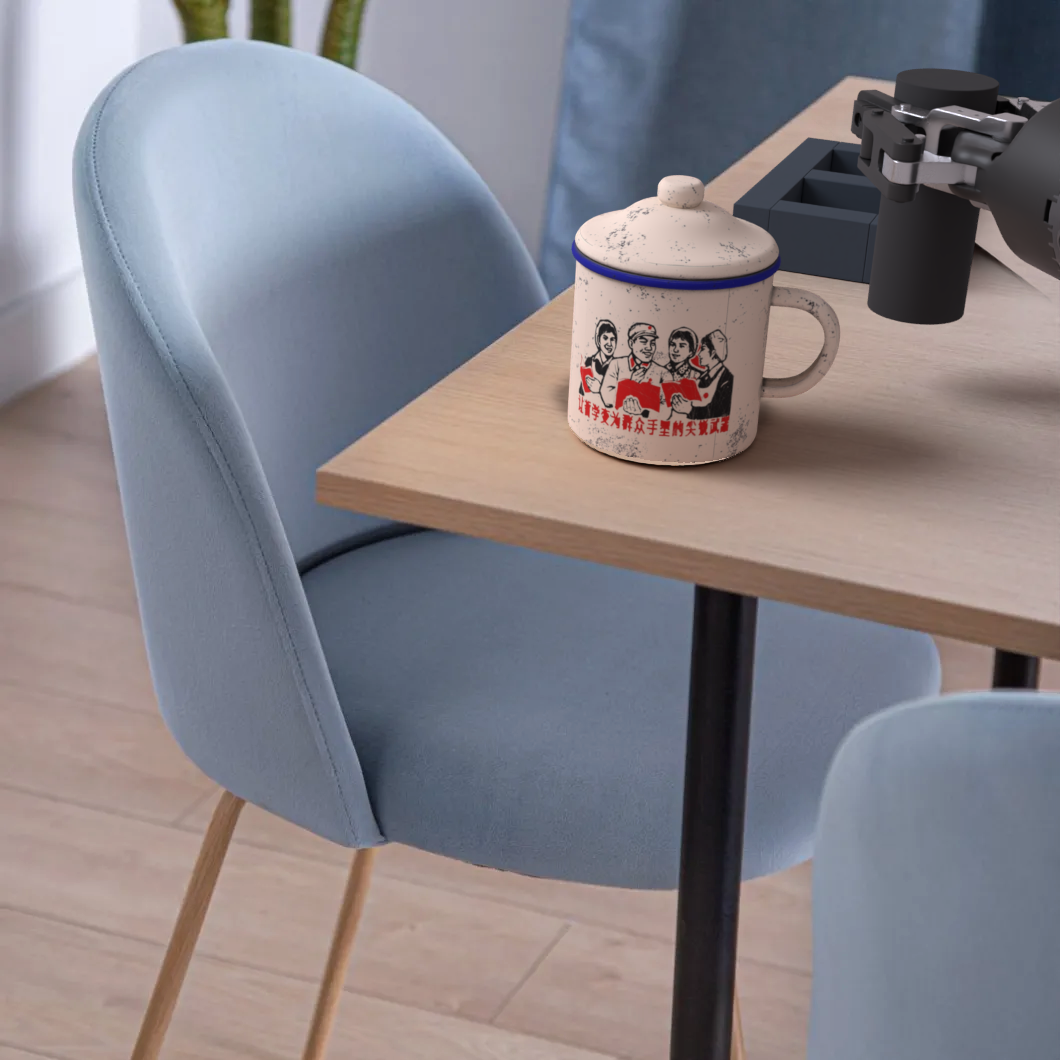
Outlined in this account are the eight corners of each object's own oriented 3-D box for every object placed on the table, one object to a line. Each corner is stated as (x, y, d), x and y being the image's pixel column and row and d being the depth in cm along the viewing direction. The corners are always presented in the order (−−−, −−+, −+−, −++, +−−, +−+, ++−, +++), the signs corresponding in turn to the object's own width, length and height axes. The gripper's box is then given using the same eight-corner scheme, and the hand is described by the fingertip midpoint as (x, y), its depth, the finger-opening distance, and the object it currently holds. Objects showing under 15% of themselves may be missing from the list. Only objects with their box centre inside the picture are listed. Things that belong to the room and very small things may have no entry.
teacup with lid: (543, 457, 77) (556, 197, 72) (581, 384, 85) (595, 144, 80) (819, 492, 75) (852, 226, 70) (831, 413, 83) (862, 170, 78)
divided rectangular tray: (953, 210, 116) (961, 157, 114) (900, 288, 100) (908, 229, 99) (802, 188, 119) (807, 137, 117) (727, 261, 104) (733, 203, 102)
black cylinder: (941, 292, 88) (975, 67, 83) (979, 323, 83) (1016, 90, 79) (853, 294, 87) (882, 68, 82) (886, 326, 83) (919, 90, 78)
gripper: (1306, 105, 70) (1050, 22, 84) (998, 124, 65) (782, 32, 79) (1263, 286, 73) (1024, 177, 87) (968, 316, 68) (766, 196, 83)
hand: (910, 109), depth 83 cm, fingers closed on black cylinder, 4 cm apart
